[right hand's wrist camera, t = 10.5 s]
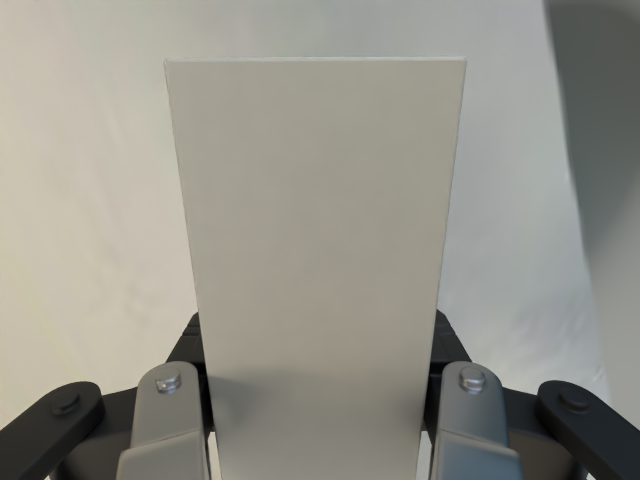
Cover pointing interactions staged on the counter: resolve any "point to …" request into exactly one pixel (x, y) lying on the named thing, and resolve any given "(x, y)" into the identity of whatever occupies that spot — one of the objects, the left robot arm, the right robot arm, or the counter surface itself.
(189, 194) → the beam
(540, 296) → the counter surface
